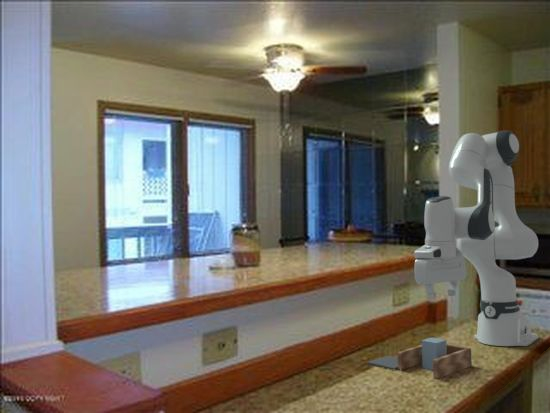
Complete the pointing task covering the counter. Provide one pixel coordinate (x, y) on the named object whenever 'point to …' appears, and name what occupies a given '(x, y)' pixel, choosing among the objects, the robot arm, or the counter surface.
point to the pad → (385, 362)
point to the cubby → (437, 360)
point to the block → (432, 351)
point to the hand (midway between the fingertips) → (442, 297)
